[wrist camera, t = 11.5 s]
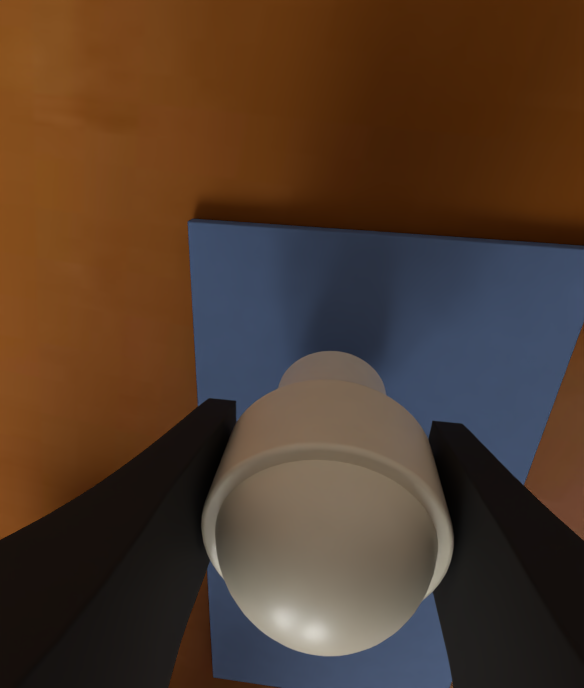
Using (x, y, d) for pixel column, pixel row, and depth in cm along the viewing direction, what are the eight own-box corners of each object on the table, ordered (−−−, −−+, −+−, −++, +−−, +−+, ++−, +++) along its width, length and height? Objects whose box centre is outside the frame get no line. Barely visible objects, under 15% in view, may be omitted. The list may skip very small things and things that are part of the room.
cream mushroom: (400, 469, 12) (444, 736, 7) (250, 453, 12) (179, 694, 7) (428, 331, 10) (518, 545, 5) (252, 315, 11) (156, 501, 5)
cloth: (439, 701, 19) (440, 712, 19) (215, 668, 20) (212, 677, 20) (602, 246, 10) (610, 250, 10) (192, 218, 11) (186, 221, 11)
